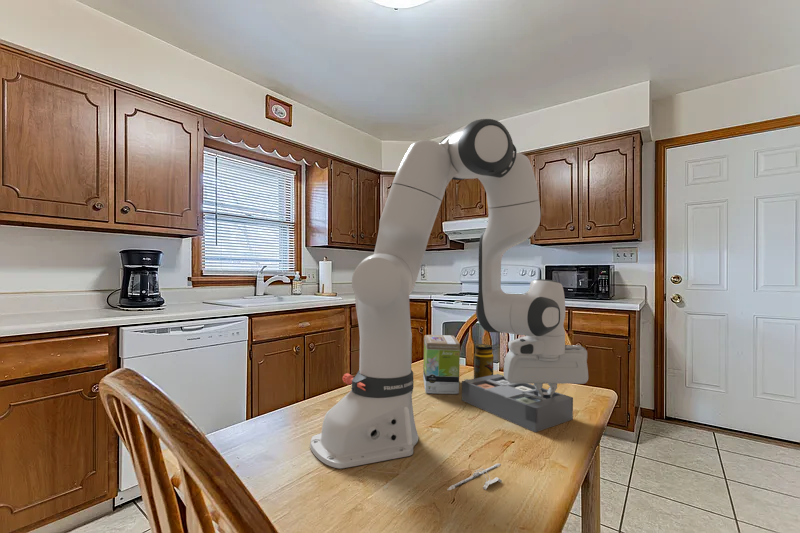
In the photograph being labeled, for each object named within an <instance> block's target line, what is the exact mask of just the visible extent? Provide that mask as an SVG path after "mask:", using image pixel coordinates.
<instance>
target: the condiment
mask: <svg viewBox="0 0 800 533" xmlns="http://www.w3.org/2000/svg"><path fill="white" fill-rule="evenodd" d="M474 348H475V349H474V351H475V352H474V354H473V379H475V378H480V377H485V376H490V375H494V354H493V346H492V345H491V344H487V343H478V344H475V347H474ZM465 380H470V378H466V379H465V378H464V380H463V381H465Z"/></svg>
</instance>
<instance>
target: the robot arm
mask: <svg viewBox="0 0 800 533" xmlns="http://www.w3.org/2000/svg"><path fill="white" fill-rule="evenodd" d="M467 179H468V180H471V179H472V180H473V179H474V180H475V179H478V180H479V181H480V183H481V185H482V186H483V188H484V190H485V193H486V203H487V214H488V217H487V218H488V219H487V224H486V228H485V230H483V231H482V233H481V234H480V237H479V243H478V294H477V302H476V307H475V308H476V309H475V315H476V319H477V321H478V323H479V325H480V326H481V327H482V328H483V330H484V331H486V332H487V333H497V334H498V333H500V334H502V333H505V334H512V335H517V336H520V337H518V338H514V339H513V340H510V341H508V342H507V349H508V350H509V351H507V353H506V355H505V358H504V363H503V376H504V378H505V379H506V380H507V381H508V382H509V383H527V384H532V385H534V386H535V388H536V390H537V392H538V396H540V397H543V398H546V399H548V398H552V394H554V392H556V391H557V389H558V385H559V384H561V385H562V384H578V385H579V384H580V385H581V384H582V385H583V384H586V383H587V382H588V381H589V369H588V363H587V362H588V351H587V349H586V348H585V347H583V346H582V345H581V344H575V345H573V344H566V331H565V328H564V327H565V326H564V322H565V319H566V298H565V291H564V287H563V284H562V283H561V282H559V281H557V280H552V279H543V278H542V279H537V278H536V279H534V280H531V281H530V283H529V287H528V291H525V292H524V293H520V294H519V293H507V292H504V291H503V290H502V288H501V287H502V286H501V283H502V280H501V279H502V260H503V259H502V258H503V256H504V254H505V253H506V252H507V251H508V250H509V249H511V248H514V247H515V246H517V245H519V244H522V243H524V242H525V241H527V240H528V239H530V238H531V237H532V236H533V235H534V234H535V233H536V231H537V230H538V228H539V226H540V223H541V217H542V216H541V214H542V213H541V206H540V204H541V202H540V195H539V189H538V184H537V180H536V175H535V172H534V168H533V166H532V163H531V161H530V159H529V157H528V156H526V155H525V154H523V153H520V152H517V147H516V146H515V145H514V142H513V139H512V136H511V134H510V132H509V130H508V129H507V127H506V126H505V125H504V124H503V123H502V122H500V121H498V120H496V119H491V118H481V119H476V120H473V121H471V122H470V123H468V124H465V125H463V126H460V127H458V128H456V129H455V130H454V131H452V132H451V133H450V134H449V135H447V136H445V137H444V138H443V139H442V140H441V141H440V142H437V141H434V140H431V139H420V140H417V141H414V142H413V143H412V144H411V145H410V146H409V147H408V149H407V151H406V153H405V154H404V156H403V158H402V160H401V162H400V164H399V166H398V168H397V170H396V173H395V175H394V178H393V180H392V183H391V186H390V190H389V192H388V194H387V197H386V201H385V204H384V207H383V210H382V213H381V215H380V219H379V222H378V223H379V226H378V233H377V238H376V243H375V246H374V252H373V253H372V254H371V255H369V256H366V257H365V258H364V259H362V260H361V262H359V264H358V265H357V266H356V268H355V269H354V271H353V274H352V277H351V278H352V279H351V287H352V292H353V293H354V299H355V300H354V301H355V311H356V315H357V316H356V317H357V323H358V330H359V331H358V332H359V334H358V335H359V367H358V368H359V370H357V372H356V375H355V376H354V375H352V374H350V373H348V372H347V373H344V374H343V376H342V379H341V380H342V381H343V383H345V384H346V385H349V386H350V385H351V387H350V388H351V390H350V391H349V392H348V393H346V394H345V396H343V397H342V398H341V399H340V400H339V401H337V403H336V404H334V405H333V406H332V407H331V408H330V409H329V410H327V412H326V413H325V415H324V418H323V420H322V426H321V432H320V433H318V434H315V435H312V436H311V439H310V445H309V447H310V450H311V452H312V453H313V455H314V456H315V457H316V458H317V459H318V460H319V461H320V462H322V463H323V464H324V465H327V466H328V467H332V468H336V469H345V468H346V469H347V468H351V467H357V466H362V465H367V464H373V463H378V462H384V461H389V460H390V461H391V460H395V459H399V458H405V457H410V456H412V455H413V454H414V447H415V445H417V443H418V442H419V434H418V431H417V427H416V422H415V416H414V408H413V406H414V405H413V392H414V371H413V370H412V364H413V363H412V361H413V360H412V358H413V357H412V356H413V353H412V351H413V348H412V346H413V344H412V343H413V339H412V338H413V336H412V335H413V334H412V325H411V310H410V308H411V307H410V305H411V304H410V295H411V294H412V292H413V291H414V288H415V285H416V282H417V280H418V276H419V274H420V270H421V267H422V263H423V260H424V257H425V253H426V251H427V250H426V249H427V247H428V243H429V240H430V237H431V233H432V230H433V227H434V224H435V221H436V219H437V216H438V213H439V210H440V207H441V204H442V201H443V198H444V196H445V192H446V189H447V187H448V185H449V183H450V182H451V180H455V181H463V180H467ZM543 384H547V385H548V386H549V388H548V389H547V390H548V391H547V392H542V390H541V389H540V388H544V387H543V386H544V385H543ZM540 401H541V400H540Z"/></svg>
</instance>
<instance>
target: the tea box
mask: <svg viewBox="0 0 800 533" xmlns="http://www.w3.org/2000/svg"><path fill="white" fill-rule="evenodd" d="M460 356H461V344H460V342H459V340H458V339H457V338H456V337H455V335H450V334H449V335H444V334H425V335H424V337H423V373H422V374H423V376H422V377H423V384H424V391H425V394H432V395H433V394H434V395H437V394H438V395H439V394H440V395H459V393H460V364H461V363H460V361H461V359H460V358H461V357H460Z"/></svg>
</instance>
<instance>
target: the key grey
mask: <svg viewBox="0 0 800 533" xmlns="http://www.w3.org/2000/svg"><path fill="white" fill-rule="evenodd" d="M496 382H498V383H501V384H504V385H506V384H510V383H509V382H508V381H506V380H500V381H496ZM497 386H498V385H495V384H494V387H497ZM510 387H513V388H515V385H513V386H510Z"/></svg>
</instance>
